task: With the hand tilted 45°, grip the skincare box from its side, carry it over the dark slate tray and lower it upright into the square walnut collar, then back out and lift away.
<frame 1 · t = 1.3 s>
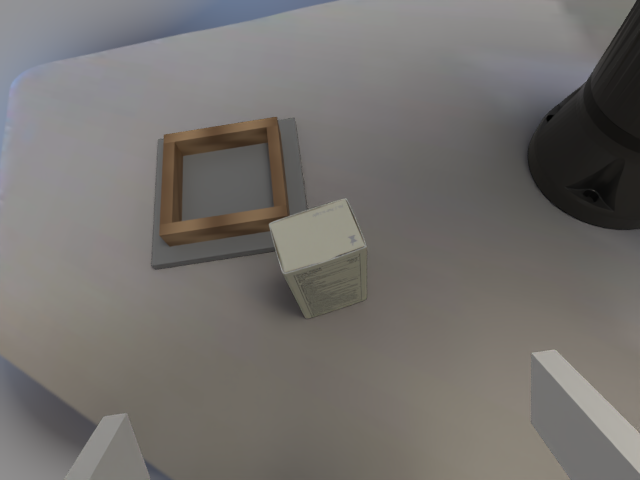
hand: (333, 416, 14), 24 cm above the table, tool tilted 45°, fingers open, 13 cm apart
slate tray: (230, 191, 47), on the table
walnut collar: (225, 179, 45), on the slate tray, point 2 cm above the table
skincare box: (329, 291, 41), on the table
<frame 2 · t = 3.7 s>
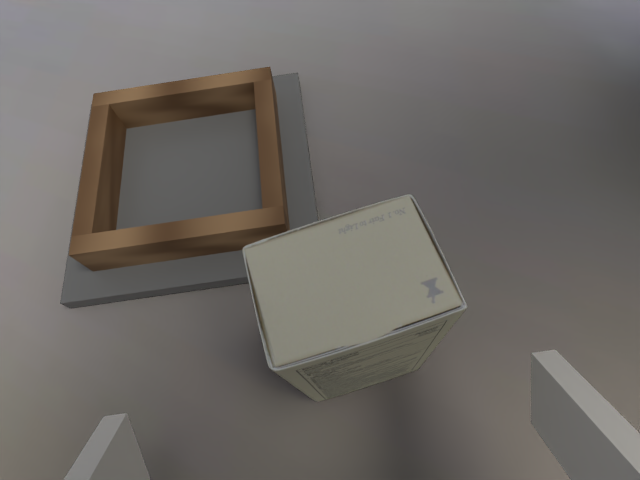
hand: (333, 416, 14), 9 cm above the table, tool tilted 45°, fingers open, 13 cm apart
slate tray: (197, 182, 30), on the table
walnut collar: (186, 163, 28), on the slate tray, point 2 cm above the table
skincare box: (353, 352, 24), on the table
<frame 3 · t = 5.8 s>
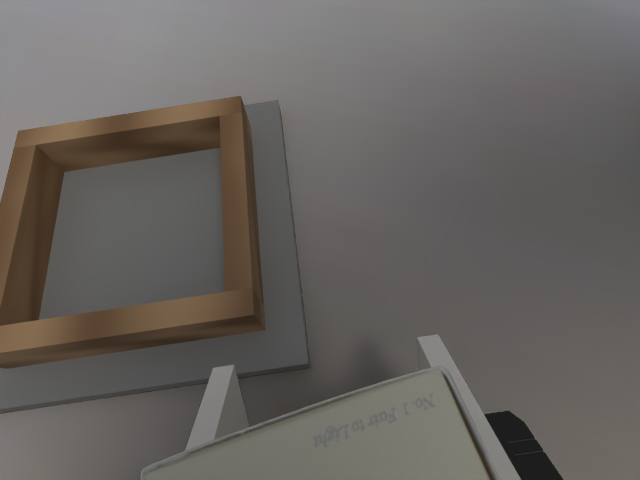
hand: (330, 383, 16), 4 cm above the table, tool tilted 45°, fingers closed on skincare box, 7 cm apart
slate tray: (151, 241, 24), on the table
walnut collar: (131, 222, 22), on the slate tray, point 2 cm above the table
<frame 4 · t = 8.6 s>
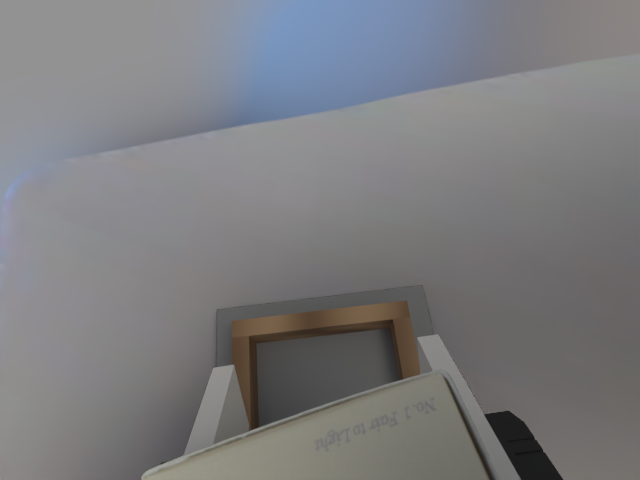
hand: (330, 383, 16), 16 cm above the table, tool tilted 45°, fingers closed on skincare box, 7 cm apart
slate tray: (331, 408, 30), on the table
walnut collar: (329, 406, 28), on the slate tray, point 2 cm above the table
when the fingers open (7 cm above the table, at t = 11.5 s): skincare box drops 1 cm, resting on slate tray.
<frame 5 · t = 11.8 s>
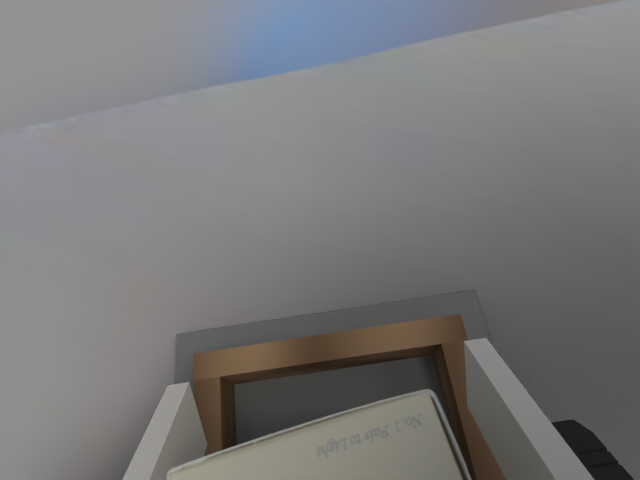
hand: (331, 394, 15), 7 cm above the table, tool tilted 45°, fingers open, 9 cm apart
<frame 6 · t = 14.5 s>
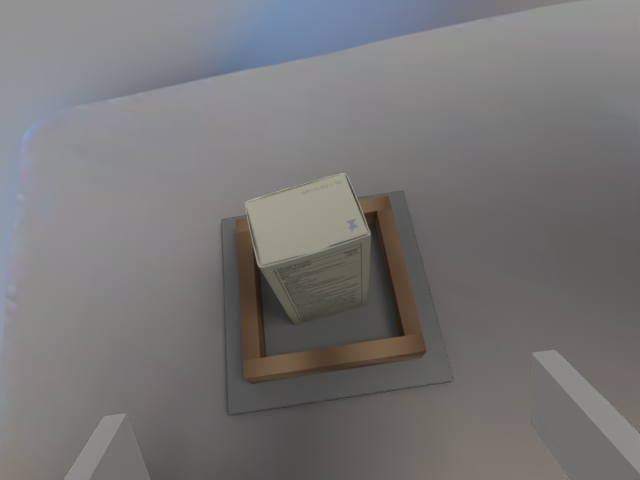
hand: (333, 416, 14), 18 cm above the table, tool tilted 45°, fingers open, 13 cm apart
slate tray: (325, 294, 35), on the table
walnut collar: (323, 285, 33), on the slate tray, point 2 cm above the table
skincare box: (323, 292, 34), point 1 cm above the table, touching slate tray
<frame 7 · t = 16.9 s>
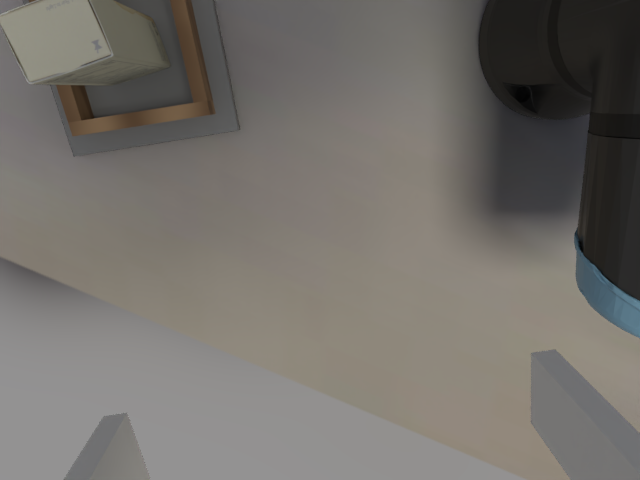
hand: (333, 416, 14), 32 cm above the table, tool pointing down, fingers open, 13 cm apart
slate tray: (136, 54, 39), on the table
walnut collar: (126, 51, 37), on the slate tray, point 2 cm above the table
skincare box: (131, 54, 38), point 1 cm above the table, touching slate tray
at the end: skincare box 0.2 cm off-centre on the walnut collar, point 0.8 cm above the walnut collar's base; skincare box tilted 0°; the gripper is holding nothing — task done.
